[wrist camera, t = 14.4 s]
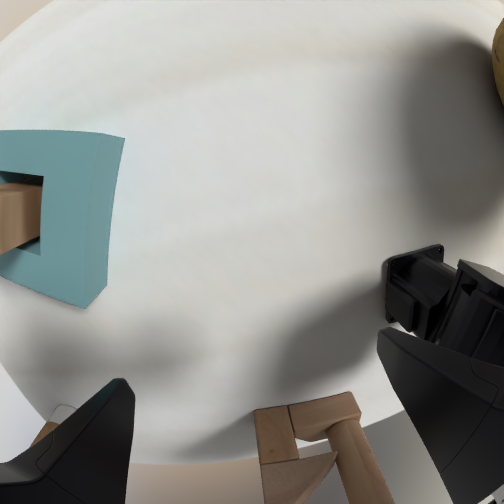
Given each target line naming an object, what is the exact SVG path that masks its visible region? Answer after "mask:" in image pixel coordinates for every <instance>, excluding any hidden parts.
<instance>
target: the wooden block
mask: <svg viewBox="0 0 504 504" xmlns="http://www.w3.org/2000/svg"><path fill="white" fill-rule="evenodd" d="M360 417H361V411H360V409H359V406H358V404H357V402H356V400H355V398H354V396H353V394H352V392H347V393H343V394H339V395H335V396H331V397H327V398H323V399H318V400H313V401H309V402H304V403H298V404H293V405H289V406H288V408H287V406H279V407H273V408H266V409H258V410H255V412H254V419H255V428H256V437H257V446H258V455H259V463H260V469H261V478H262V486H263V494H264V502H265V504H303V503H304V502H305V501H306V500H307V499H308V497H309V496H310V495H311V494H312V493H313V492H314V490H315V489H316V488H317V487H318V486H319V484H320V483H321V482H322V481H323V479H324V478H325V477H326V475H327V474H328V473H329V471H330V470H331V469H332V467H333V466H334V463H335V461H336V464H337V467H338V470H339V473H340V476H341V479H342V482H343V486H344V488H345V492H346V495H347V498H348V501H349V504H395V503H394V500H393V498H392V495H391V493H390V491H389V488H388V486H387V484H386V481H385V479H384V477H383V474H382V472H381V470H380V468H379V465H378V463H377V461H376V458H375V456H374V454H373V452H372V449H371V447H370V445H369V443H368V440H367V438H366V436H365V434H364V432H363V429H362V427H361V425H360V423H359V421H360ZM295 438H297V439H301V440H304V441H308V442H314V441H318V440H322V439H327V438H328V440H329V443H330V446H331V449H332V452H329V453H325V454H321V455H317V456H313V457H308V458H303V459H299V454H298V449H297V445H296V441H295Z"/></svg>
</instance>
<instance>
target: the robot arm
mask: <svg viewBox="0 0 504 504" xmlns="http://www.w3.org/2000/svg"><path fill="white" fill-rule="evenodd" d="M439 249H440V250H439ZM443 259H444V247H443V246H442V245H440V244H437V245H434V246H430V247H427V248H423V249H419V250H416V251H412V252H409V253H405V254H401V255H398V256H394V257H391V258H390V259H389V260H388V278H387V285H386V306H385V309H386V320H387V322H388V323H394V322H397V321H398V322H399V323H400V324H401V326H402V327H403V328H404V329H405V330H406V331H407V332H409V333H410V332H413V333H414V334H415V335H416V336H417V337H415V336H412V335H410V334H407V333H405V332H402V331H399V330H397V329H394V328H392V327H387V328H384V329H381V330H379V332H378V339H377V353H378V356H379V358H380V360H381V362H382V365H383V367H384V369H385V371H386V374H387V376H388V378H389V381H390V383H391V385H392V387H393V389H394V391H395V393H396V394H397V396H398V398H399V400H400V401H401V403H402V405H403V407H404V408H405V410H406V412H407V414H408V415H409V417H410V419H411V421H412V423H413V424H414V426H415V428H416V430H417V432H418V433H419V435H420V437H421V439H422V441H423V443H424V445H425V446H426V448H427V450H428V452H429V454H430V456H431V458H432V460H433V462H434V464H435V466H436V468H437V470H438V472H439V474H440V476H441V478H442V480H443V482H444V485H445V486H446V489H447V490H448V493H449V495H450V497H451V499H452V501H453V504H478V503H479V502H481V501H482V500H484V499H485V498H486V497H488V496H489V495H491V494H492V495H493V497H494V499H493V500H492V501H491V502H490V503H488V504H504V275H503V274H501V273H499V272H497V271H495V270H493V269H491V268H489V267H486V266H483V265H480V264H476V263H472V262H469V261H465V260H462V259H459V262H458V265H457V266H458V269H457V270H456V269H455V268H453V267H451V266H449V265H448V264H446V263H444V262H443ZM394 261H395V263H394V265H392V264H393V262H394ZM391 317H392V318H391ZM390 318H391V319H390ZM134 413H135V394H134V392H133V391H132V389H131V388H130V386H129V384H128V383H127V381H126V380H125V379H123V378H115V379H113V380H112V381H110V382H109V383H108V384H107V385H106V386H105V387H103V388H102V389H101V390H100V391H99V392H97V393H96V394H95V395H94V396H93V397H92V398H90V399H89V400H88V401H87V402H86V403H84V404H83V405H82V406H81V407H80V408H78V409H77V410H76V411H75V412H74V413H72V414H71V415H70V416H69V417H68V418H67V419H65V420H64V421H63V422H62V423H61V424H59V425H58V426H57V427H56V428H55V429H54V430H52V431H51V432H50V433H49V434H47V435H46V436H45V437H44V438H42V439H41V440H40V441H39V442H37V443H36V444H34V445H33V446H32V447H30V448H29V449H27V450H26V451H25V452H23V453H21V454H20V455H18V456H17V457H15V458H14V459H12V460H10V461H8V462H5V463H0V504H125V497H126V485H127V477H128V468H129V460H130V453H131V446H132V439H133V431H134Z"/></svg>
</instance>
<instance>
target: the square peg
mask: <svg viewBox="0 0 504 504" xmlns="http://www.w3.org/2000/svg"><path fill="white" fill-rule="evenodd" d="M42 190H43V181H38V180H31V179H30V180H24V181H18V182H12V183H7V184H2V185H0V255H2V254H4V253H5V252H7V251H9V250H11V249H13V248H15V247H17V246H19V245H21V244H23V243H25V242H27V241H29V240H31V239H33V238H35V237H37V236H40V224H41V203H42Z"/></svg>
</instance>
